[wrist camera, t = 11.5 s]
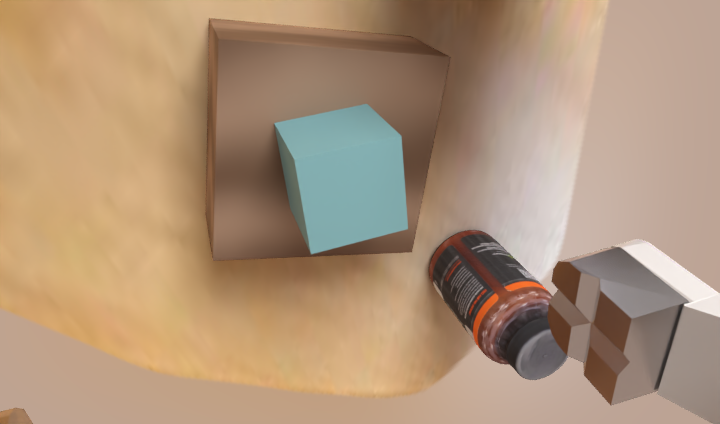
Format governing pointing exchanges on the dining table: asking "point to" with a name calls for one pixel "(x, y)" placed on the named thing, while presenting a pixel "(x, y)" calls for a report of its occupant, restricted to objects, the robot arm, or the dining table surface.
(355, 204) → the teal cube
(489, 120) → the dining table surface
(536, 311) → the supplement bottle
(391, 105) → the walnut block
